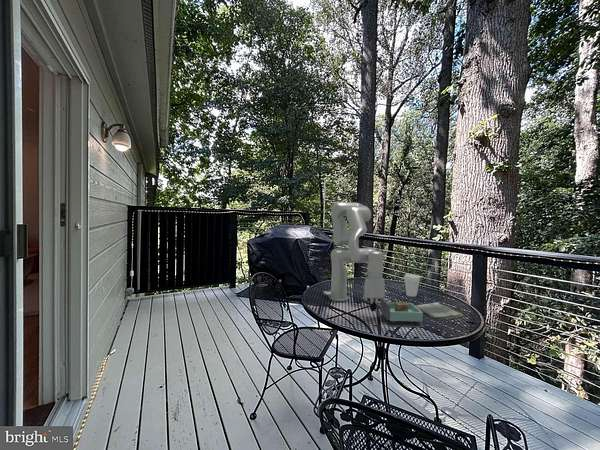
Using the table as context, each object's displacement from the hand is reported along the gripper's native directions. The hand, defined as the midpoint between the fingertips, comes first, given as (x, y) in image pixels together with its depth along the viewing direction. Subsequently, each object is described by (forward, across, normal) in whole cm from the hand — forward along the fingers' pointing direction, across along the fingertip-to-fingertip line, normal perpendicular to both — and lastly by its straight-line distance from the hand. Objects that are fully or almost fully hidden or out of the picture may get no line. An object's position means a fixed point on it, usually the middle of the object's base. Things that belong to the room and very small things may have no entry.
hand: (372, 310), depth 153 cm
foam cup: (+5, +38, +43) cm, 58 cm away
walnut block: (+1, +15, 0) cm, 15 cm away
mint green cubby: (+5, +15, 0) cm, 16 cm away
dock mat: (+5, +15, 0) cm, 16 cm away
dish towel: (+6, +41, +12) cm, 43 cm away
